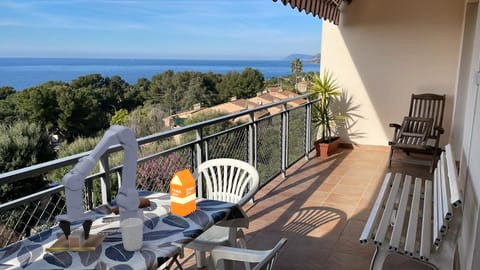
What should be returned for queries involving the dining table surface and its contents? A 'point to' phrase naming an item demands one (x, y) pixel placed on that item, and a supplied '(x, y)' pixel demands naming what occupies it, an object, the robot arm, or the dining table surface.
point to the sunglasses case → (142, 203)
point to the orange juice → (182, 193)
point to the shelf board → (90, 245)
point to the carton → (77, 238)
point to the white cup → (132, 233)
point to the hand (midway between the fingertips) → (77, 238)
